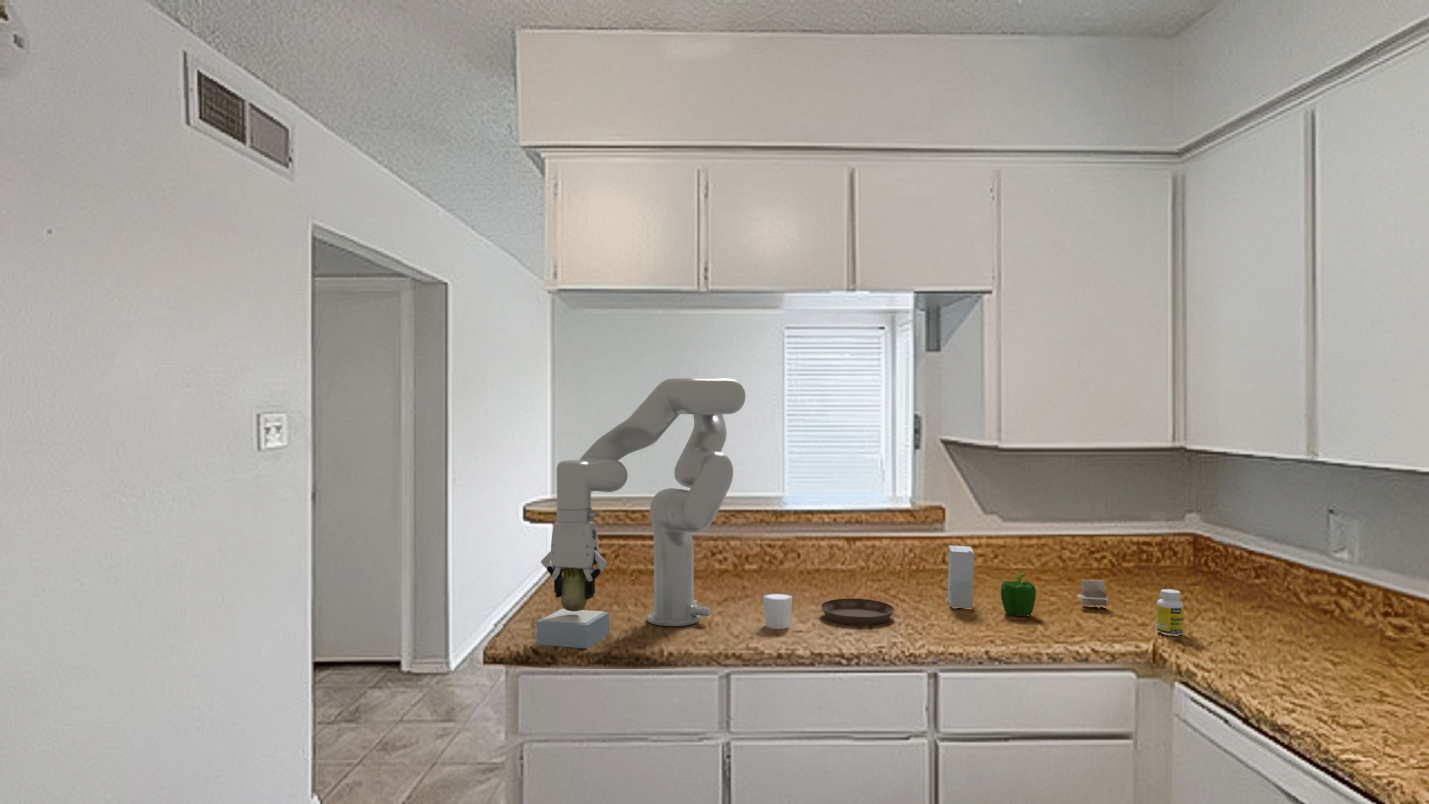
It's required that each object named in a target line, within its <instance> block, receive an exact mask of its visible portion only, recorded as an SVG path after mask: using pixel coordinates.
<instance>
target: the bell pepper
mask: <svg viewBox="0 0 1429 804" xmlns="http://www.w3.org/2000/svg"><path fill="white" fill-rule="evenodd" d="M1025 577H1026V573H1024V572H1021V573H1019V574H1018V575H1017V578H1016V579H1015V580H1012V581H1010V580H1004V581H1003V582H1002V583H1001V585H1000V586H1001V587H1000V599H1001V602H1002V606H1003V610H1004V612H1005V613H1006V614H1007V613H1008V614H1007V615H1009V614H1010V615H1011V616H1018V615H1021V616H1020V617H1028V616H1027V615H1029V616H1031V615H1032V613H1033V611H1034V607H1035V602H1036V597H1037V596H1036V594H1037V589H1036V587H1035V585H1034V584H1032V583H1031V581H1029V580H1027V581H1023V582H1022V578H1025Z"/></svg>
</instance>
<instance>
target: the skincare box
mask: <svg viewBox="0 0 1429 804" xmlns="http://www.w3.org/2000/svg"><path fill="white" fill-rule="evenodd" d="M947 570H948V571H947V573H948V574H947V576H948V577H947V603H948V606H949V608H950V607H958V608H973V609H974V583H975V582H974V581H975V579H974V576H975V552H974V550H973V548H972V547H971V546H969V545H968V546H965V545H949V546H948V569H947Z"/></svg>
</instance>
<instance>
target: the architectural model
mask: <svg viewBox="0 0 1429 804" xmlns="http://www.w3.org/2000/svg"><path fill="white" fill-rule="evenodd" d="M1105 583H1106V582H1105V580H1101V579H1100V580H1098V579H1081V594H1077V593H1076V597H1077V598H1078V599H1081V606H1082V605H1094V606H1096V605H1099V606H1100V605H1105V606H1107V607H1108V599H1109V598H1108V595H1107V594H1108V593H1107V590H1106V584H1105Z"/></svg>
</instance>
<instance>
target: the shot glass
mask: <svg viewBox="0 0 1429 804" xmlns="http://www.w3.org/2000/svg"><path fill="white" fill-rule="evenodd" d="M762 597H763V599H762V600H763V608H764V609H763V610H764V611H763V613H764V619H765V620H764V621H765V627H766V628H769V629H772V630H782V629H784V630H785V629H788V628H790V626H791V618H792V617H791V616H792V607H793V605H792V604H793V595H790V594H787V593H767V594H764V595H763V596H762Z"/></svg>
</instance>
